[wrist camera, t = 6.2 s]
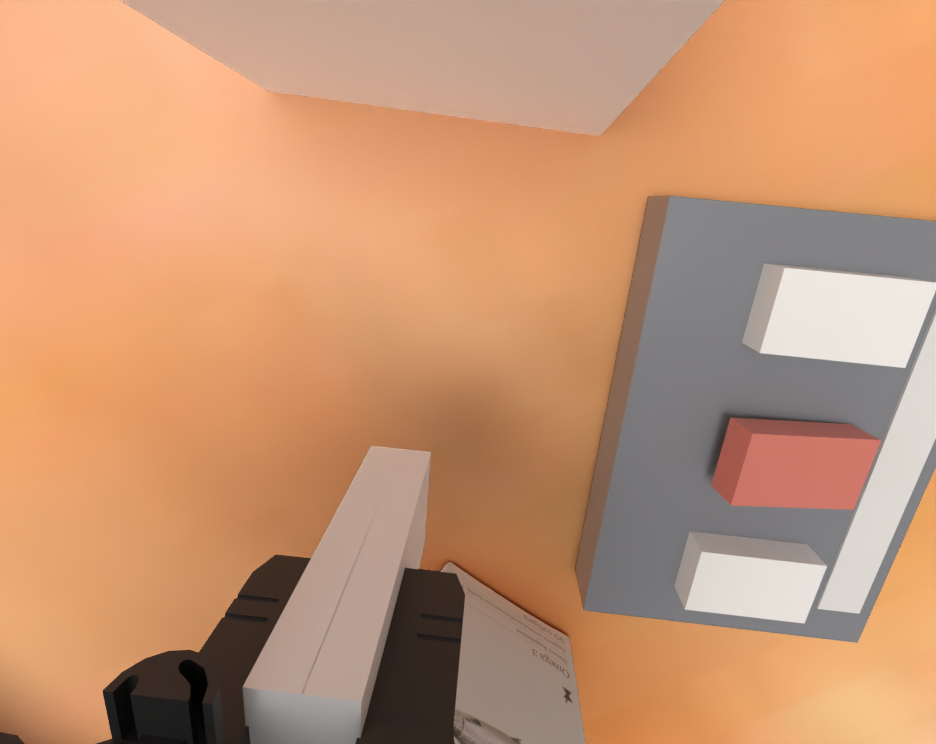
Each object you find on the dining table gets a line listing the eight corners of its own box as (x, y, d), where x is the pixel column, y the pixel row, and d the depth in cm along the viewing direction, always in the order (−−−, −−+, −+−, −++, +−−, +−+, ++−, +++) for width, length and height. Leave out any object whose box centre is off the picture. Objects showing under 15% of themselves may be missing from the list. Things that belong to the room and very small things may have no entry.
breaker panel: (820, 598, 22) (878, 668, 19) (575, 569, 23) (588, 634, 19) (969, 227, 17) (1085, 233, 14) (648, 196, 17) (683, 195, 14)
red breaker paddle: (826, 489, 18) (853, 509, 17) (711, 485, 17) (730, 505, 16) (851, 424, 17) (881, 440, 16) (730, 417, 17) (752, 433, 15)
